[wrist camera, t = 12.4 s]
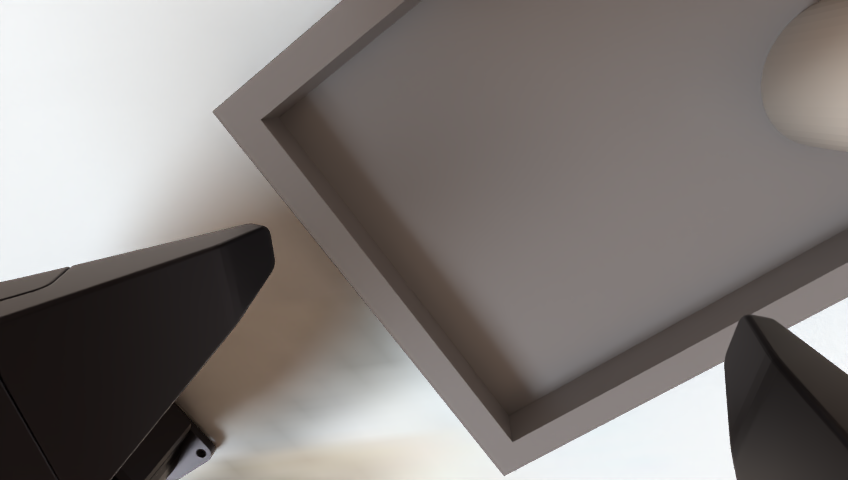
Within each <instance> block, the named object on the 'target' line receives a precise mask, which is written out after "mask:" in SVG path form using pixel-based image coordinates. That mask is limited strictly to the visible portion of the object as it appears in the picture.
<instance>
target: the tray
mask: <svg viewBox="0 0 848 480" xmlns="http://www.w3.org/2000/svg"><path fill="white" fill-rule="evenodd" d="M819 1H821V0H342V1H341V2H340V3H339V4H337V5H336V6H335V7H334V8H333V9H332V10H330V11H329V12H328V13H327V14H326V15H325V16H323V17H322V18H321V19H320V20H319V21H318V22H316V23H315V24H314V25H313V26H312V27H311V28H309V29H308V30H307V31H306V32H305V33H304V34H302V35H301V36H300V37H299V38H298V39H297V40H295V41H294V42H293V43H292V44H291V45H290V46H288V47H287V48H286V49H285V50H284V51H283V52H281V53H280V54H279V55H278V56H277V57H276V58H274V59H273V60H272V61H271V62H270V63H269V64H268V65H266V66H265V67H264V68H263V69H262V70H261V71H259V72H258V73H257V74H256V75H255V76H254V77H252V78H251V79H250V80H249V81H248V82H247V83H245V84H244V85H243V86H242V87H241V88H240V89H238V90H237V91H236V92H235V93H234V94H233V95H231V96H230V97H229V98H228V99H227V100H226V101H224V102H223V103H222V104H221V105H220V106H219V107H217V108H216V109H215V110H214V111H213V113H214V114H215V116H216V117H217V118H218V119H219V121H220V122H221V123H222V124H223V126H224V127H225V128H226V129H227V131H228V132H229V133H230V134H231V136H232V137H233V138H234V139H235V141H236V142H237V143H238V144H239V146H240V147H241V148H242V149H243V151H244V152H245V153H246V154H247V156H248V157H249V158H250V159H251V161H252V162H253V163H254V164H255V166H256V167H257V168H258V169H259V171H260V172H261V173H262V174H263V176H264V177H265V178H266V179H267V181H268V182H269V183H270V184H271V186H272V187H273V188H274V189H275V191H276V192H277V193H278V194H279V196H280V197H281V198H282V199H283V201H284V202H285V203H286V204H287V206H288V207H289V208H290V209H291V211H292V212H293V213H294V214H295V216H296V217H297V218H298V219H299V221H300V222H301V223H302V224H303V226H304V227H305V228H306V229H307V231H308V232H309V233H310V234H311V236H312V237H313V238H314V239H315V241H316V242H317V243H318V244H319V246H320V247H321V248H322V249H323V251H324V252H325V253H326V254H327V256H328V257H329V258H330V259H331V261H332V262H333V263H334V264H335V266H336V267H337V268H338V269H339V271H340V272H341V273H342V274H343V276H344V277H345V278H346V279H347V281H348V282H349V283H350V284H351V286H352V287H353V288H354V289H355V291H356V292H357V293H358V294H359V296H360V297H361V298H362V299H363V301H364V302H365V303H366V304H367V306H368V307H369V308H370V309H371V311H372V312H373V313H374V314H375V316H376V317H377V318H378V319H379V321H380V322H381V323H382V324H383V326H384V327H385V328H386V329H387V331H388V332H389V333H390V334H391V336H392V337H393V338H394V339H395V341H396V342H397V343H398V344H399V346H400V347H401V348H402V349H403V350H404V352H405V353H406V354H407V355H408V357H409V358H410V359H411V360H412V362H413V363H414V364H415V365H416V367H417V368H418V369H419V370H420V372H421V373H422V374H423V375H424V377H425V378H426V379H427V380H428V382H429V383H430V384H431V385H432V387H433V388H434V389H435V390H436V392H437V393H438V394H439V395H440V397H441V398H442V399H443V400H444V402H445V403H446V404H447V405H448V407H449V408H450V409H451V410H452V412H453V413H454V414H455V415H456V417H457V418H458V419H459V420H460V422H461V423H462V424H463V425H464V427H465V428H466V429H467V430H468V432H469V433H470V434H471V435H472V437H473V438H474V439H475V440H476V442H477V443H478V444H479V445H480V447H481V448H482V449H483V450H484V452H485V453H486V454H487V455H488V457H489V458H490V459H491V460H492V462H493V463H494V464H495V465H496V467H497V468H498V469H499V470H500V472H501V473H502V474H503V475H504V476H505V475H507V474H509V473H511V472H513V471H515V470H517V469H518V468H520V467H522V466H524V465H526V464H528V463H530V462H532V461H534V460H536V459H538V458H540V457H542V456H543V455H545V454H547V453H549V452H551V451H553V450H555V449H557V448H559V447H561V446H563V445H565V444H566V443H568V442H570V441H572V440H574V439H576V438H578V437H580V436H582V435H584V434H586V433H588V432H590V431H591V430H593V429H595V428H597V427H599V426H601V425H603V424H605V423H607V422H609V421H611V420H613V419H615V418H616V417H618V416H620V415H622V414H624V413H626V412H628V411H630V410H632V409H634V408H636V407H638V406H639V405H641V404H643V403H645V402H647V401H649V400H651V399H653V398H655V397H657V396H659V395H661V394H663V393H664V392H666V391H668V390H670V389H672V388H674V387H676V386H678V385H680V384H682V383H684V382H686V381H688V380H689V379H691V378H693V377H695V376H697V375H699V374H701V373H703V372H705V371H707V370H709V369H711V368H712V367H714V366H716V365H718V364H720V363H722V362H724V361H725V355H726V352H727V349H728V347H729V344H730V342H731V339H732V337H733V334H734V332H735V329H736V326H737V324H738V322H739V320H740V318H741V317H742V316H743V315H745V314H751V315H757V316H762V317H768V318H772V319H774V320H776V321H777V322H779V323H780V324H781V325H782V326H784V327H785V328H786V329H787V328H789V327H791V326H793V325H795V324H797V323H799V322H801V321H803V320H805V319H807V318H809V317H810V316H812V315H814V314H816V313H818V312H820V311H822V310H824V309H826V308H828V307H830V306H832V305H834V304H835V303H837V302H839V301H841V300H843V299H845V298H847V297H848V152H844V151H837V150H830V149H823V148H816V147H809V146H805V145H802V144H798V143H796V142H794V141H792V140H790V139H788V138H787V137H785V136H784V135H782V134H781V133H780V132H779V131H778V130H777V129H776V128H775V127H774V125H773V124H772V123H771V121H770V119H769V118H768V116H767V114H766V111H765V108H764V106H763V101H762V95H761V80H762V73H763V68H764V65H765V62H766V59H767V56H768V54H769V52H770V50H771V48H772V46H773V44H774V42H775V41H776V39H777V38H778V36H779V35H780V34H781V32H782V31H783V30H784V28H785V27H786V26H787V25H788V24H789V23H790V22H791V21H792V20H793V19H794V18H795V17H797V16H798V15H799V14H800V13H801V12H803V11H804V10H806V9H807V8H809V7H810V6H812V5H814V4H816V3H817V2H819Z"/></svg>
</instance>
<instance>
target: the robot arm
mask: <svg viewBox="0 0 848 480" xmlns="http://www.w3.org/2000/svg"><path fill="white" fill-rule="evenodd" d="M274 264H275V258H274V252H273V246H272V240H271V234H270V231H269V230H268V228H266V227H265V226H261V225H255V224H245V225H241V226H237V227H233V228H228V229H224V230H220V231H216V232H212V233H208V234H203V235H199V236H195V237H191V238H187V239H182V240H178V241H174V242H170V243H166V244H161V245H157V246H153V247H149V248H145V249H140V250H136V251H132V252H128V253H124V254H120V255H115V256H111V257H107V258H103V259H99V260H94V261H90V262H86V263H82V264H78V265H74V266H72V267H71V268H70V267H65V268H61V269H56V270H52V271H48V272H44V273H39V274H35V275H31V276H26V277H22V278H17V279H13V280H8V281H4V282H0V480H178V479H180V478H181V477H183V476H185V475H186V474H188V473H189V472H191V471H193V470H194V469H196V468H197V467H199V466H200V465H202V464H204V463H205V462H207V461H208V460H209V459H210V458H211V457H212V455H213V454H214V452H215V446H214V444H213V443H212V442H211V441H210V440H209V439H208V438H207V437H206V435H205V434H204V433H203V432H202V431H201V430H200V429H199V428H198V427H197V426H196V425H195V424H194V423H193V422H192V421H191V420H190V419H189V418H188V416H187V415H186V414H185V413H184V412H183V411H182V410H181V409H180V408H179V407H178V406H177V405H176V404H175V403H174V401H175V400H176V399H177V398H178V396H179V395H180V394H181V393H182V392H183V390H184V389H185V388H186V387H187V385H188V384H189V383H190V382H191V381H192V379H193V378H194V377H195V376H196V374H197V373H198V372H199V371H200V369H201V368H202V367H203V366H204V365H205V363H206V362H207V361H208V360H209V358H210V357H211V356H212V355H213V353H214V352H215V351H216V350H217V349H218V347H219V346H220V345H221V344H222V342H223V341H224V340H225V339H226V337H227V336H228V335H229V334H230V333H231V331H232V330H233V329H234V327H235V326H236V325H237V323H238V322H239V321H240V319H241V318H242V316H243V315H244V313H245V312H246V310H247V309H248V307H249V306H250V304H251V303H252V301H253V300H254V298H255V297H256V295H257V294H258V292H259V291H260V289H261V287H262V286H263V284H264V283H265V281H266V280H267V278H268V277H269V275H270V274H271V272H272V271H273V268H274ZM724 369H725V383H726V396H727V409H728V423H729V436H730V446H731V453H732V458H733V464H734V469H735V473H736V478H737V480H848V374H846V373H845V372H844V371H842V370H841V369H840V368H838V367H837V366H836V365H834V364H833V363H832V362H830V361H829V360H828V359H826V358H825V357H824V356H822V355H821V354H820V353H818V352H817V351H816V350H814V349H813V348H812V347H810V346H809V345H808V344H806V343H805V342H804V341H802V340H801V339H800V338H798V337H797V336H796V335H794V334H793V333H792V332H790V331H789V330H788V329H786V328H785V327H784V326H782V325H781V324H780V323H779V322H777V321H776V320H774V319H772V318H768V317H762V316H757V315H751V314H745V315H743V316H742V317H741V318H740V320H739V322H738V324H737V326H736V329H735V332H734V334H733V337H732V339H731V342H730V344H729V347H728V349H727V352H726V355H725V361H724ZM201 449H203V450H204V451H205V452H204V451H202V450H201Z"/></svg>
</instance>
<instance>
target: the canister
mask: <svg viewBox="0 0 848 480" xmlns="http://www.w3.org/2000/svg"><path fill="white" fill-rule="evenodd" d="M761 95H762V101H763V106H764V108H765V111H766V114H767V116H768V118H769V119H770V121H771V123H772V124H773V125H774V127H775V128H776V129H777V130H778V131H779V132H780V133H781V134H782V135H784V136H785V137H787V138H788V139H790V140H792V141H794V142H796V143H798V144H802V145H805V146H809V147H816V148H823V149H830V150H837V151H844V152H848V0H821V1H819V2H817V3H816V4H814V5H812V6H810V7H809V8H807V9H806V10H804V11H803V12H801V13H800V14H799V15H798V16H797V17H795V18H794V19H793V20H792V21H791V22H790V23H789V24H788V25H787V26H786V27H785V28H784V30H783V31H782V32H781V34H780V35H779V36H778V38H777V39H776V41H775V42H774V44H773V46H772V48H771V50H770V52H769V54H768V56H767V59H766V62H765V65H764V68H763V73H762V80H761Z"/></svg>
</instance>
